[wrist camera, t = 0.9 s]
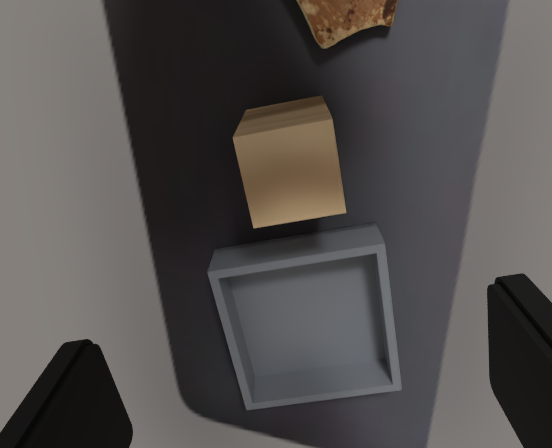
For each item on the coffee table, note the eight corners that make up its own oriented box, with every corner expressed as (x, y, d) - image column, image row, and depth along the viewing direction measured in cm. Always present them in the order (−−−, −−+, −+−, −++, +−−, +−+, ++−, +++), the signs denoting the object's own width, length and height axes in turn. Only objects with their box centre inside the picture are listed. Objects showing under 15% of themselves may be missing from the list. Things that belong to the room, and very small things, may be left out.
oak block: (245, 109, 31) (232, 137, 24) (321, 95, 30) (332, 118, 23) (261, 182, 33) (253, 228, 26) (333, 169, 32) (346, 212, 25)
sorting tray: (214, 248, 35) (207, 272, 32) (375, 222, 34) (384, 243, 31) (249, 378, 40) (246, 410, 36) (392, 359, 38) (401, 389, 35)
